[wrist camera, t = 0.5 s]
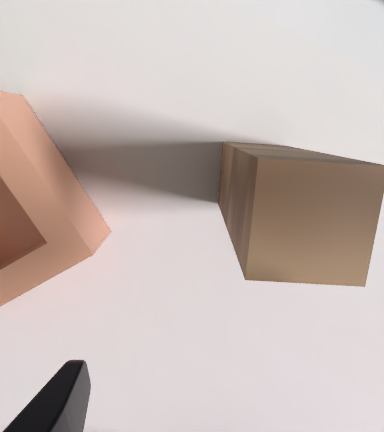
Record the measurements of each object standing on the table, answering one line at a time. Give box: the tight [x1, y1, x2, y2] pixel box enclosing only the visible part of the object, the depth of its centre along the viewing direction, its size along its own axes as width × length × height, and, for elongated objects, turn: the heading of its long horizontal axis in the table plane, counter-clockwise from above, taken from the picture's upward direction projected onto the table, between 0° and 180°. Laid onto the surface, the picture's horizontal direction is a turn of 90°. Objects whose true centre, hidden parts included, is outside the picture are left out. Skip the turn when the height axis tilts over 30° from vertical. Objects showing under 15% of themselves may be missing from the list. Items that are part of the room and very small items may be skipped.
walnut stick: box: [218, 142, 384, 287], centre depth 17 cm, size 4×4×12 cm
